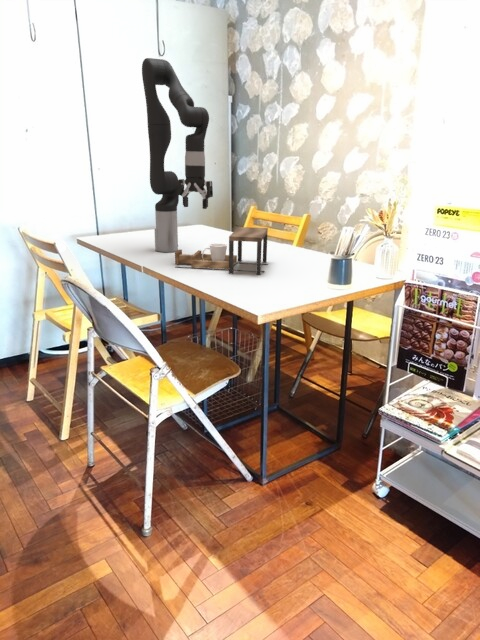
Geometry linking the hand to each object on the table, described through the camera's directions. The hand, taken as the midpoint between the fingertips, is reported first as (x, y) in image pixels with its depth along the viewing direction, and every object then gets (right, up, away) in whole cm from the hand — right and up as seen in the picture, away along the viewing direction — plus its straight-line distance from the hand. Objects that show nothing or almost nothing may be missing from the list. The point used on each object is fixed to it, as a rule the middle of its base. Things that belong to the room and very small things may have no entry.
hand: (195, 207), depth 194 cm
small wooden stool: (+21, -23, -3) cm, 31 cm away
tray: (+4, -22, 0) cm, 22 cm away
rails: (+10, -23, -1) cm, 25 cm away
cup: (+8, -23, -1) cm, 24 cm away
